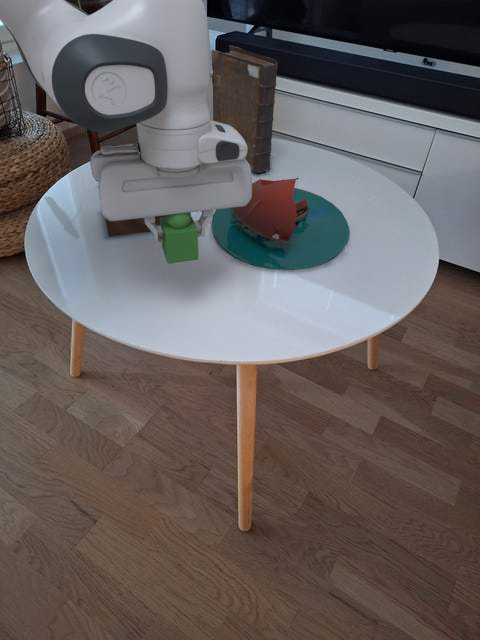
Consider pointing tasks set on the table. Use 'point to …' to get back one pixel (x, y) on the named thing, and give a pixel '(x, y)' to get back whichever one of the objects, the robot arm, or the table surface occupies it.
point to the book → (246, 100)
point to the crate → (129, 226)
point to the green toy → (179, 238)
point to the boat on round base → (282, 227)
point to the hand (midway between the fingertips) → (179, 237)
